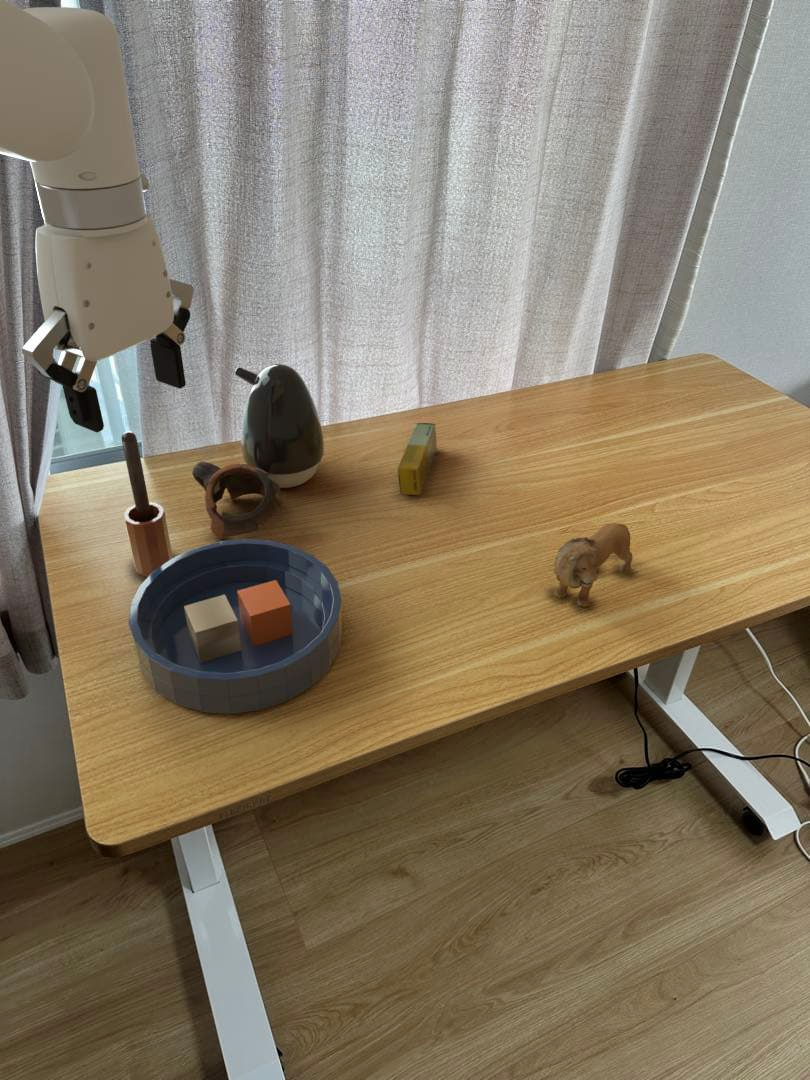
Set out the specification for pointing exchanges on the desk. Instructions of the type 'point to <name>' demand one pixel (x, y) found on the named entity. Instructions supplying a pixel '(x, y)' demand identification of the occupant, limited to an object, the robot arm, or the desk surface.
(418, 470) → the medication box
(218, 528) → the pottery mug
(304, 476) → the pump dispenser
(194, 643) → the pale block
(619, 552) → the lion figurine
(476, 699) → the desk surface
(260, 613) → the orange block
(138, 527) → the holder
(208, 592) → the bowl
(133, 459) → the stick
